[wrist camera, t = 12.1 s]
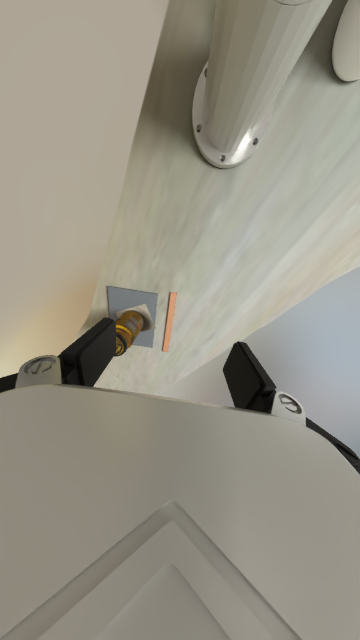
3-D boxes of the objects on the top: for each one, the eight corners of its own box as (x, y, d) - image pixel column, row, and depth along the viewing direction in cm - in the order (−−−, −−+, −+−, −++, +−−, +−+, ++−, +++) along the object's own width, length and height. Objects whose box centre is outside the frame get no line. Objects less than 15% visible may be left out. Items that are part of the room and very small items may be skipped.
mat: (109, 286, 33) (107, 286, 33) (157, 293, 34) (157, 294, 33) (111, 340, 40) (110, 341, 39) (152, 346, 40) (152, 347, 40)
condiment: (115, 312, 36) (86, 335, 25) (145, 303, 34) (128, 323, 23) (127, 335, 38) (106, 365, 27) (155, 327, 37) (145, 355, 26)
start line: (171, 292, 34) (170, 292, 33) (176, 293, 34) (176, 293, 34) (163, 350, 41) (162, 351, 41) (167, 351, 41) (167, 352, 41)
